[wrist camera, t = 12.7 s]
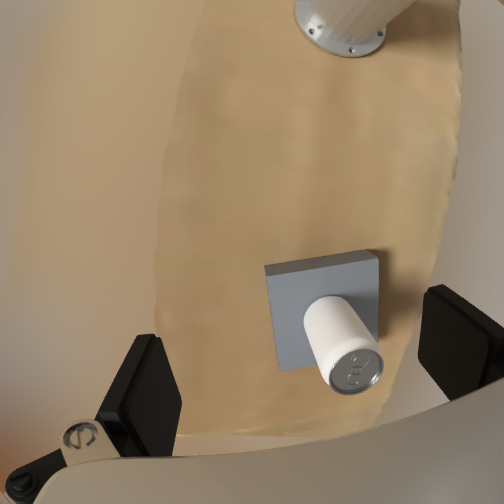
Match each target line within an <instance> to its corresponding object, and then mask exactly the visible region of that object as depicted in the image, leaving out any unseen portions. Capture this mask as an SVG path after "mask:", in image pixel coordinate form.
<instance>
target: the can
mask: <svg viewBox="0 0 504 504" xmlns="http://www.w3.org/2000/svg"><path fill="white" fill-rule="evenodd" d="M304 328H305V331H306V334H307V337H308V340H309V342H310V345H311V348H312V350H313V353H314V356H315V359H316V361H317V364H318V367H319V369H320V372H321V374H322V377H323V379H324V380H325V382H326V383H327V384H329V385H330V386H331V388H332V389H333V390H334V391H335V392H337V393H339V394H342V395H355V394H359V393H362V392H364V391H366V390H367V389H369V388H370V387H372V386H373V385H374V384H375V383H376V382H377V381H378V379H379V378H380V376H381V374H382V372H383V367H384V363H383V359H382V353H381V349H380V347H379V345H378V344H377V342H376V341H375V339H374V338H373V336H372V335H371V333H370V332H369V331H368V329H367V328H366V326H365V325H364V323H363V322H362V321H361V319H360V318H359V317H358V315H357V314H356V312H355V311H354V310H353V308H352V307H351V306H350V304H349V303H348V302H347V301H346V300H344V299H343V298H341V297H338V296H327V297H323V298H320V299H318V300H317V301H315V302H314V303H313V304H311V306H310V307H309V308H308V309H307V311H306V313H305V316H304Z"/></svg>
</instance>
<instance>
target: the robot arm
mask: <svg viewBox="0 0 504 504" xmlns="http://www.w3.org/2000/svg"><path fill="white" fill-rule="evenodd" d="M415 1H417V0H296V3H295V8H294V14H295V18H296V22H297V24H298V26H299V28H300V30H301V31H302V32H303V34H304V35H305V36H306V37H307V38H308V39H309V40H310V41H311V42H312V43H313V44H315V45H316V46H317V47H319V48H321V49H322V50H324V51H326V52H328V53H331V54H334V55H337V56H342V57H352V58H353V57H361V56H364V55H367V54H369V53H371V52H373V51H374V50H375V49H377V48H378V47H379V46H380V45H381V43H382V42H383V40H384V38H385V35H386V25H387V24H388V23H389V22H391V21H392V20H393V19H394V18H395V17H397V16H398V15H399V14H400V13H402V12H403V11H404V10H405V9H407V8H408V7H409V6H410V5H412V4H413V3H414V2H415ZM498 1H500V2H501V3H502V4H503V5H504V0H498ZM310 33H312V34H313V35H312V34H310ZM349 51H351V52H349ZM418 359H419V362H420V363H421V365H422V366H423V367H424V368H425V370H426V371H427V372H428V373H429V375H430V376H431V377H432V378H433V380H434V381H435V382H436V383H437V385H438V386H439V387H440V389H441V390H442V391H443V392H444V394H445V395H446V396H447V398H448V399H449V400H450V402H447V403H444V404H442V405H440V406H437V407H434V408H431V409H429V410H426V411H423V412H421V413H418V414H415V415H412V416H409V417H406V418H403V419H400V420H396V421H393V422H390V423H387V424H384V425H380V426H377V427H373V428H369V429H366V430H362V431H358V432H354V433H350V434H346V435H342V436H338V437H333V438H329V439H325V440H319V441H315V442H309V443H304V444H298V445H293V446H287V447H281V448H273V449H267V450H259V451H250V452H241V453H231V454H216V455H199V456H172V451H173V447H174V442H175V437H176V431H177V426H178V421H179V416H180V412H181V407H182V400H181V396H180V393H179V390H178V387H177V384H176V382H175V379H174V376H173V373H172V370H171V367H170V364H169V361H168V358H167V355H166V352H165V349H164V346H163V343H162V340H161V338H160V337H156V336H155V334H144V335H137V337H136V339H135V340H134V343H133V344H132V346H131V348H130V350H129V352H128V353H127V355H126V357H125V359H124V361H123V363H122V365H121V367H120V369H119V371H118V373H117V375H116V377H115V378H114V381H113V383H112V385H111V386H110V389H109V390H108V393H107V395H106V396H105V399H104V400H103V402H102V404H101V406H100V409H99V411H98V413H97V415H96V417H95V419H94V420H93V419H80V420H77V421H74V422H72V423H70V424H68V425H67V426H66V427H65V428H64V429H63V430H62V432H61V433H60V436H59V445H60V449H58V450H56V451H54V452H52V453H50V454H48V455H46V456H43V457H41V458H39V459H37V460H35V461H33V462H31V463H29V464H26V465H24V466H22V467H20V468H18V469H16V470H15V471H13V472H12V473H11V474H10V475H9V477H8V478H7V480H6V485H5V488H6V492H5V493H4V494H3V493H2V492H1V491H0V504H504V328H503V327H502V326H501V325H499V324H498V323H497V322H495V321H494V320H492V319H491V318H490V317H489V316H487V315H486V314H485V313H483V312H482V311H480V310H479V309H478V308H476V307H475V306H474V305H472V304H471V303H469V302H468V301H467V300H465V299H464V298H462V297H461V296H459V295H458V294H457V293H455V292H454V291H452V290H451V289H449V288H448V287H446V286H445V285H443V284H441V285H437V286H433V287H429V288H428V290H427V292H425V294H424V299H423V311H422V322H421V332H420V340H419V349H418Z"/></svg>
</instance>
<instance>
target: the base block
mask: <svg viewBox="0 0 504 504" xmlns="http://www.w3.org/2000/svg"><path fill="white" fill-rule="evenodd" d="M264 269H265V276H266V283H267V290H268V297H269V304H270V311H271V318H272V325H273V332H274V340H275V347H276V354H277V360H278V365H279V370H280V372H281V371H287V370H293V369H299V368H304V367H310V366H315V365H318V364H317V361H316V359H315V356H314V353H313V350H312V348H311V345H310V342H309V340H308V337H307V334H306V331H305V328H304V316H305V313H306V311H307V309H308V308H309V307H310V306H311V304H313V303H314V302H315V301H317V300H318V299H320V298H323V297H327V296H338V297H341V298H343V299H344V300H346V301H347V302H348V303H349V304H350V306H351V307H352V308H353V310H354V311H355V312H356V314H357V315H358V317H359V318H360V319H361V321H362V322H363V323H364V325H365V326H366V328H367V329H368V331H369V332H370V333H371V335H372V336H373V338H374V339H375V341H376V342H378V316H379V258H378V257H377V256H375V255H374V254H372V253H371V252H370V251H368V250H367V249H366V250H360V251H354V252H348V253H342V254H336V255H330V256H323V257H317V258H311V259H304V260H298V261H292V262H285V263H279V264H272V265H266V266H264Z"/></svg>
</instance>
